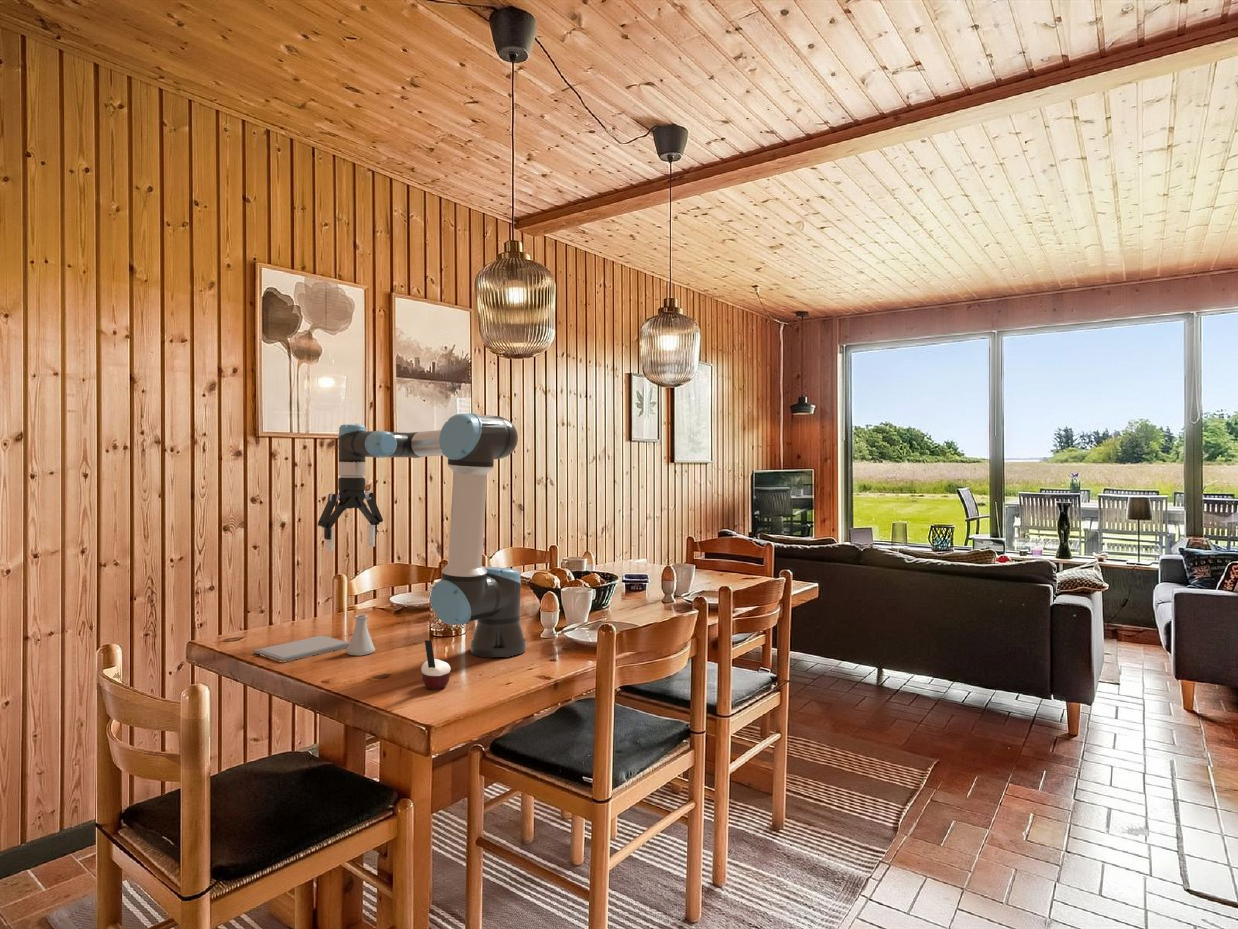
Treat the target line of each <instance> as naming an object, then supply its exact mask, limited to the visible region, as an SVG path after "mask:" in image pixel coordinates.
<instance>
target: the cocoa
mask: <svg viewBox="0 0 1238 929" xmlns="http://www.w3.org/2000/svg"><path fill="white" fill-rule="evenodd" d="M424 645H425V647H424V648H425V652H426V659H427V660H426V661H424V662H423V664H421V669H420V671H421V674H422V681H423V685H424V686H425V687H426V688H427V689H428V688H429V690H431V689H439V690H441V688H442V689H444V688H445V687H447V685H448V683H449V682H450V677H451V669H452V668H451V666H450V664H449V663H448V662H446V661H444V660H442V659H438V658H435V655H434V647H433V641H432V640H427V639H426V640H425V639H424Z"/></svg>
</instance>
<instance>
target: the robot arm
mask: <svg viewBox="0 0 1238 929" xmlns="http://www.w3.org/2000/svg"><path fill="white" fill-rule="evenodd" d="M337 440H338V446H337V447H338V449H337V450H338V476H339V477H338V479H337V489H338V494H337V493H329V494H328V495H327V503H326V505H325V506H324V509H323V511H322V513H321V515H320V517H319V520H318V522H317V526H318V527H321V528H323V530H324V532H323V533H324V534H323V538H324V540H326V543H325V544H326V550H325V551H329V552H335V528H333V526H334V525H335V523H337V521H338V520H339V518H340V517H341V516H342V514H343V513H344V512H345V511H346V510H347V509H357V510H359V511H360V512H361V514H362V515H363V517H364V518H365V519H366V520H367V522H368V523H369V524H367V532H366V533H367V534H366V535H367V544H366V546H367V547H371V548H373V547H376V536H377V534H378V525H380V523H383V521H384V519H383V516H382V514H381V512H380V510H379V507H378V505H377V503H376V499H375V493H374V492H372V491H371V492H370V491H369V492H368V491H367V492H366V493H365V489H366V478H365V477H364V476H366V475H367V474H366V468H367V466H366V463H367V462H366V458H379V459H380V458H409V459H410V458H412V459H420V458H424V457H437V456H438V457H439V456H441V457H442V456H444V457H446V458H447V466H448V467H449V468H450V470H451V471H452V490H451V507H450V524H449V526H450V527H449V541H448V542H449V544H448V558H447V560H448V561H447V564H446V565H445V567H443V568H442V569H441V576H440V577H441V578H440V580H439V581H437V582H436V583H434V586H433V587H432V588H431V591H430V604H431V605H430V606H431V607H432V610H433V612H434V614H436V617H437V618H438V619H439V620H440V621H441V622H442V623H444V624H446V625H449V626H455V625H456V626H457V625H464V624H467V623H469V622H470V623H471V622H473V621H476V622H477V623H476V627H475V630H474V632H473V637H472V640H471V642H470V647H469V648H470V653H471V655H474V656H476V657H480V658H486V657H505V658H511V657H510V656H512V657H515V656H514V655H516V656H518V655H517V654H520V655H522V654H524V653H525V652H526V651H525V650H526V649H527V647H526V646H527V642H526V639H525V638H524V634H523V629H522V626H521V586H522V583H521V573H520V572H519V571H518V569H514V568H509V567H499V566H483V554H484V553H483V550H484V534H485V533H484V532H485V516H486V515H485V513H486V502H487V501H486V500H487V499H486V498H487V481H488V473H489V472H491V470H492V469H494V463H495V460H500V459H501V460H502V459H504V458H507V457H509V455H511V454H512V453H513V452H514V451H515V449H516V448H517V445H518V441H519V436H518V430H517V429H516V427H515V425H514V424H513V423H512V421H510V420H509V419H507V418H505V417H503V416H499V415H488V414H487V415H485V414H479V413H478V414H476V413H471V412H470V413H457V414H454V415H452V416H450V417H449V418H448V419H447V421H445V422H444V424H443V425H442V427H441V429H438V430H437V429H436V430H425V431H415V432H397V431H385V430H372V431H371V430H370V431H367V428H366V426H365V425H363V424H341V425H340V426H339V428H338V437H337ZM364 500H365V501H366V502H367V504H366V503H365V502H364ZM338 501H339V502H338ZM337 502H338V503H337ZM336 504H337V505H336ZM367 505H368V506H367ZM335 506H336V507H335ZM368 507H369V508H368ZM524 651H525V652H524ZM523 652H524V653H523ZM521 653H522V654H521Z"/></svg>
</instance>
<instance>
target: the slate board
mask: <svg viewBox="0 0 1238 929" xmlns="http://www.w3.org/2000/svg"><path fill="white" fill-rule="evenodd" d="M349 643H350V641H346V640H342V639H339V638H336V637H335V638H334V637H331V636H327V635H323V634H322V635H316V636H312V637H311V636H310V637H307V638H302V639H298V640H293V641H288V642H285V643H280V644H279V643H278V644H275V645H271V646H267V647H262V648H257V649H253V654H254V653H256V654H262V655H264V656H266V657H270V658H273V659H275V660H277V661H282V662H284V661H290V662H292V661H291V660H294V661H296V660H295V659H298V660H300V659H299V658H302V657H307V658H310V657H309V656H311V657H313V656H312V655H315V656H317V655H316V654H319V655H322V654H327V653H330V652H329V651H331V652H334V651H333V650H335V651H339V650H343V648H344V649H347V647H348V645H349ZM326 652H327V653H326ZM256 654H255V655H256ZM302 659H303V658H302ZM277 661H276V662H277Z"/></svg>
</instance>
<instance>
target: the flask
mask: <svg viewBox="0 0 1238 929" xmlns="http://www.w3.org/2000/svg"><path fill="white" fill-rule="evenodd" d="M353 617H354V619H355V624H354V629H353V633H352V635H351V639H350V641H349V642H350V643H349V645H348V648H346V650H345V654H347V655H350V656H358V657H359V656H361V657H362V656H365V655H370V654H372V653H375V652H376V648H375V646H374V643H373V641H372V638H371V635H370V632H369V630H368V625H367V623H368V621H367V619H368V617H369V616H368V615H366V614H357V615H355V616H353Z"/></svg>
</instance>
